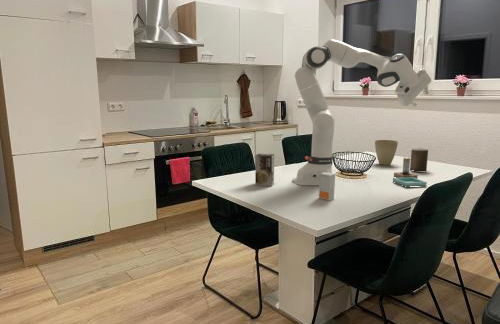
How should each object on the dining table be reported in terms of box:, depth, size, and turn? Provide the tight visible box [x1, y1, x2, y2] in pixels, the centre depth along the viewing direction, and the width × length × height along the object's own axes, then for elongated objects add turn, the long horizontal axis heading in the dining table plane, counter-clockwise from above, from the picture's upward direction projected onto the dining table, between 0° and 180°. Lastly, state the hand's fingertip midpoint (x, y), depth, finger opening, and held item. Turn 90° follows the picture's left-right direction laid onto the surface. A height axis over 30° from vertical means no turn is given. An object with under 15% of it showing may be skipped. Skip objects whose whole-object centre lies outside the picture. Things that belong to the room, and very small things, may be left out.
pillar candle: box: [409, 147, 429, 172], centre depth 241 cm, size 10×10×15 cm
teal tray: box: [392, 177, 427, 187], centre depth 207 cm, size 12×12×2 cm
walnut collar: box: [393, 171, 419, 179], centre depth 220 cm, size 9×9×3 cm
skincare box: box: [318, 172, 336, 201], centre depth 179 cm, size 6×4×12 cm
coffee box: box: [254, 153, 275, 187], centre depth 204 cm, size 9×6×16 cm
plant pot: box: [374, 139, 399, 166], centre depth 261 cm, size 15×15×16 cm
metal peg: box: [401, 157, 411, 175], centre depth 219 cm, size 4×4×12 cm
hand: (420, 99), depth 208 cm, fingers open, 8 cm apart
